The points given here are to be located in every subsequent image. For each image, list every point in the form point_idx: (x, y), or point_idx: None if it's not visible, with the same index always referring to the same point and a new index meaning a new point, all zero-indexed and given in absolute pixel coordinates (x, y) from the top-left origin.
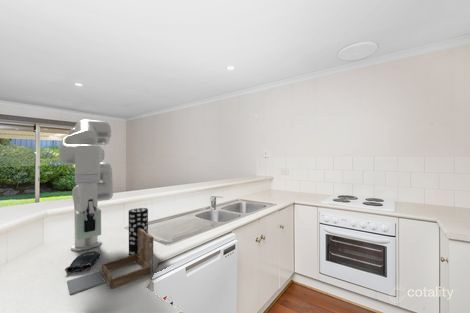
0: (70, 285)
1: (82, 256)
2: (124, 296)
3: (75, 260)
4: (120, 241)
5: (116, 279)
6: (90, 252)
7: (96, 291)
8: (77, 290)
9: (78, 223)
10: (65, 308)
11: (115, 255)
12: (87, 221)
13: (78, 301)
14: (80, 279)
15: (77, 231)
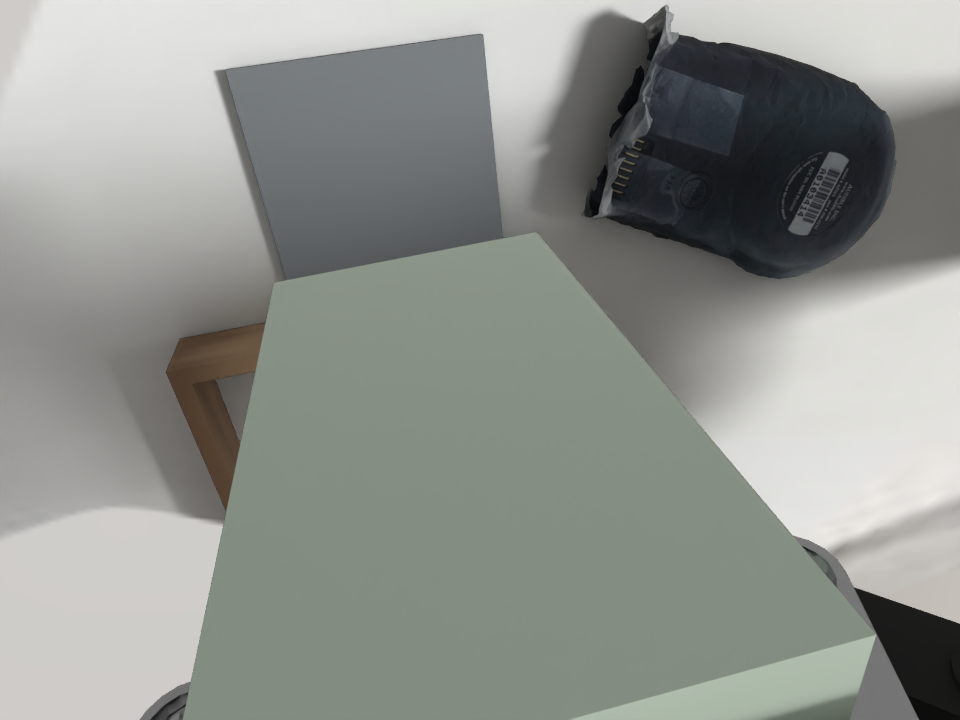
0: (377, 66)
1: (816, 147)
2: (36, 412)
3: (776, 92)
4: (933, 393)
5: (181, 400)
6: (846, 209)
7: (193, 252)
8: (256, 125)
9: (244, 505)
10: (22, 49)
11: (708, 362)
12: (186, 701)
13: (94, 137)
14: (440, 139)
15: (258, 364)
